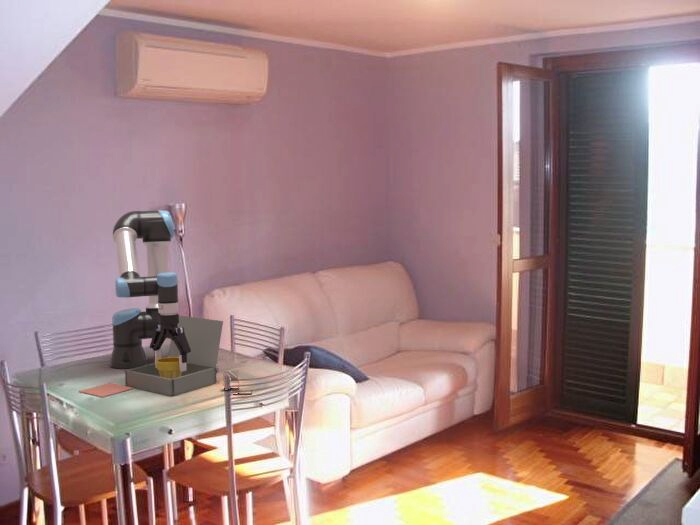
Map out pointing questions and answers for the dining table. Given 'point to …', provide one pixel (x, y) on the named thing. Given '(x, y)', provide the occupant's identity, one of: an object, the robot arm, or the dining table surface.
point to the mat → (106, 390)
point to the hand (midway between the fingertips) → (170, 369)
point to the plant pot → (169, 367)
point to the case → (199, 362)
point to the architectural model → (232, 377)
